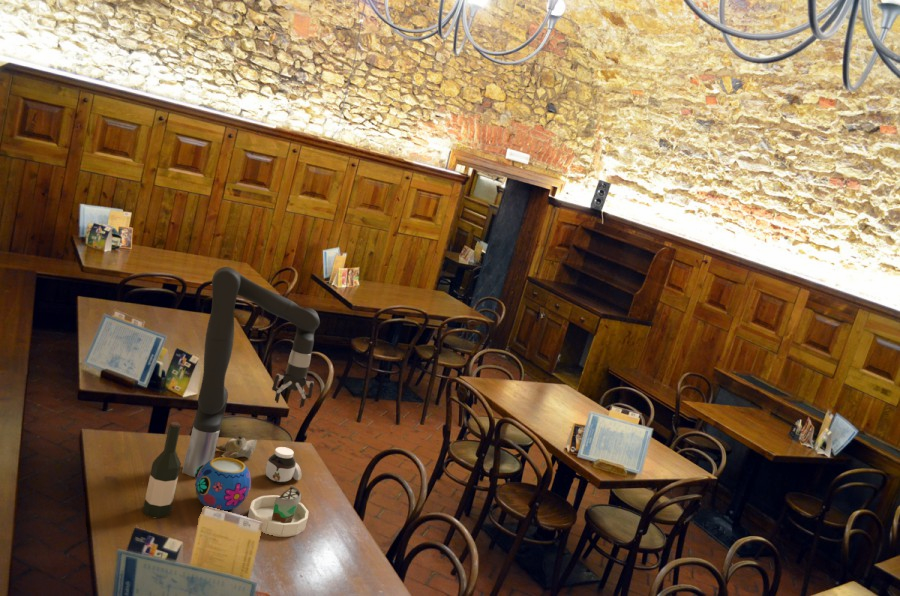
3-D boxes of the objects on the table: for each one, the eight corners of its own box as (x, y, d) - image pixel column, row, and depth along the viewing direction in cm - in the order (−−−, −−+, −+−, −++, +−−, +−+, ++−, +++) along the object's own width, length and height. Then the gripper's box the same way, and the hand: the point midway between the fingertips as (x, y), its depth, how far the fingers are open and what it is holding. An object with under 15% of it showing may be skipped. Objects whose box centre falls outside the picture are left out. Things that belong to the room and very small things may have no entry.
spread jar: (260, 477, 271) (267, 448, 269) (278, 469, 281) (284, 441, 279) (287, 489, 267) (294, 460, 265) (304, 480, 277) (311, 452, 276)
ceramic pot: (188, 491, 247) (197, 450, 245) (241, 494, 255) (250, 454, 252) (192, 518, 231) (202, 475, 229) (248, 520, 239) (258, 478, 237)
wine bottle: (176, 511, 233) (195, 424, 228) (158, 521, 225) (177, 431, 220) (155, 502, 235) (173, 415, 230) (136, 511, 227) (155, 421, 222)
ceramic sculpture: (261, 441, 280) (222, 443, 272) (258, 462, 282) (219, 464, 274) (253, 430, 289) (215, 431, 281) (250, 450, 291) (212, 452, 283)
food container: (285, 532, 236) (292, 504, 235) (268, 525, 237) (275, 497, 236) (301, 517, 248) (307, 490, 247) (284, 511, 249) (291, 484, 248)
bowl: (243, 530, 232) (246, 517, 232) (253, 502, 251) (255, 491, 250) (302, 541, 235) (305, 529, 234) (307, 513, 254) (310, 501, 253)
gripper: (277, 361, 259) (268, 404, 261) (317, 370, 261) (307, 412, 263) (280, 355, 266) (270, 397, 268) (319, 364, 268) (309, 405, 271)
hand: (288, 404), depth 266 cm, fingers open, 8 cm apart
